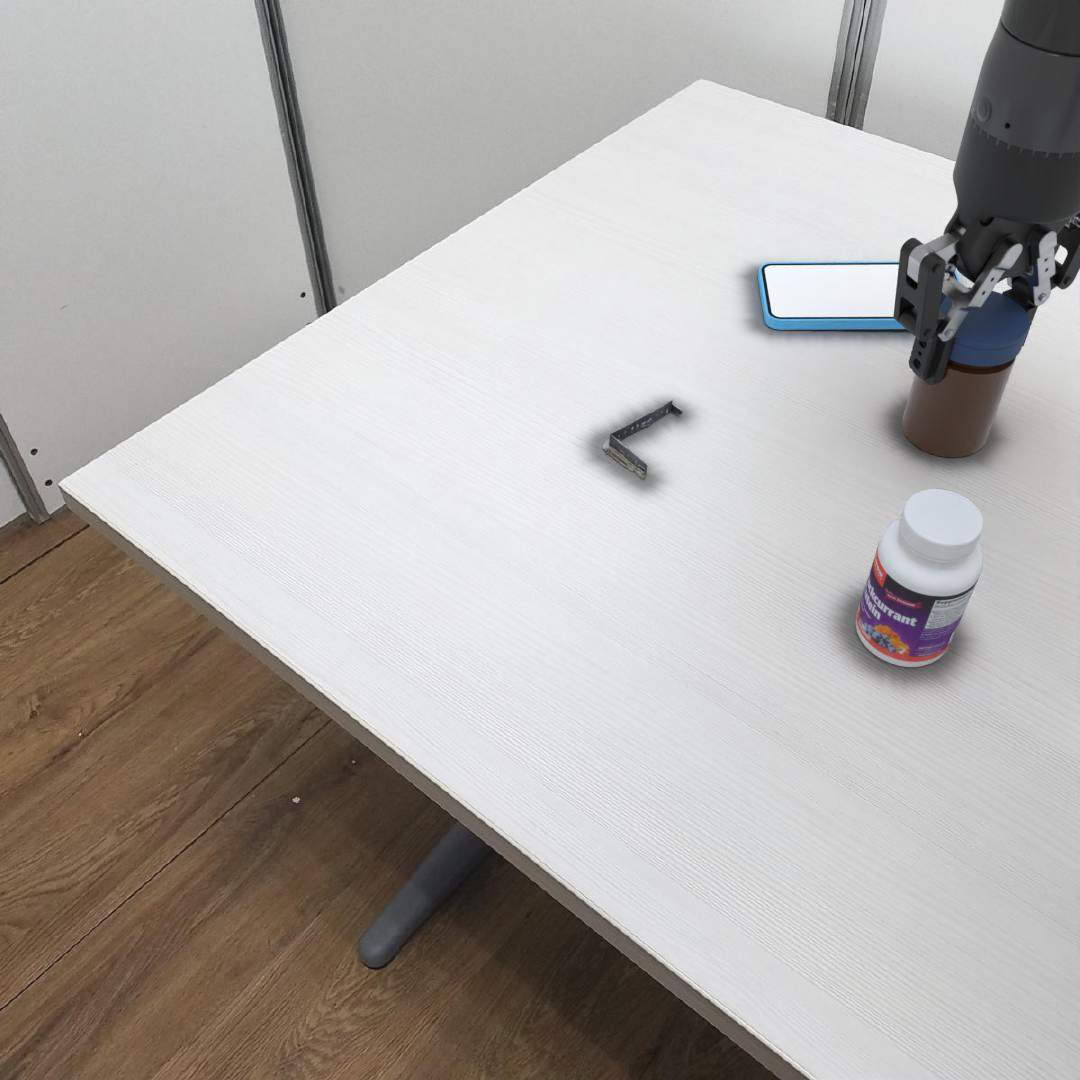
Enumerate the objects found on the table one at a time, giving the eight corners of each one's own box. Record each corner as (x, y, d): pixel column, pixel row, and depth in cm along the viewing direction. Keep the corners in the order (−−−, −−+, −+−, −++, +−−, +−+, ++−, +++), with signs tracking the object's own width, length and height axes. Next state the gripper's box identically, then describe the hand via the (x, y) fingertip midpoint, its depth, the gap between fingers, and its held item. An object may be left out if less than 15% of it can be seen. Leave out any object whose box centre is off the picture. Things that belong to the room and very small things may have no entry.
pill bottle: (834, 616, 67) (868, 499, 60) (907, 584, 68) (949, 465, 61) (894, 684, 64) (938, 569, 56) (969, 648, 65) (1021, 531, 58)
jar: (999, 422, 78) (1036, 321, 72) (967, 469, 75) (1002, 368, 69) (922, 391, 80) (951, 291, 74) (887, 436, 77) (914, 335, 71)
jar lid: (1027, 320, 73) (1035, 298, 72) (1018, 375, 69) (1026, 353, 68) (932, 302, 74) (938, 279, 73) (918, 355, 71) (925, 333, 70)
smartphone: (757, 262, 90) (952, 261, 89) (756, 275, 91) (949, 273, 90) (767, 320, 85) (974, 319, 84) (765, 333, 85) (970, 332, 85)
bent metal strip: (675, 468, 73) (598, 459, 74) (673, 484, 74) (597, 474, 75) (684, 397, 78) (612, 388, 79) (682, 412, 79) (610, 403, 80)
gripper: (989, 178, 57) (914, 432, 69) (1199, 109, 61) (1092, 360, 73) (891, 114, 61) (837, 363, 74) (1092, 53, 65) (1009, 298, 78)
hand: (965, 360), depth 73 cm, fingers closed on jar lid, 5 cm apart
